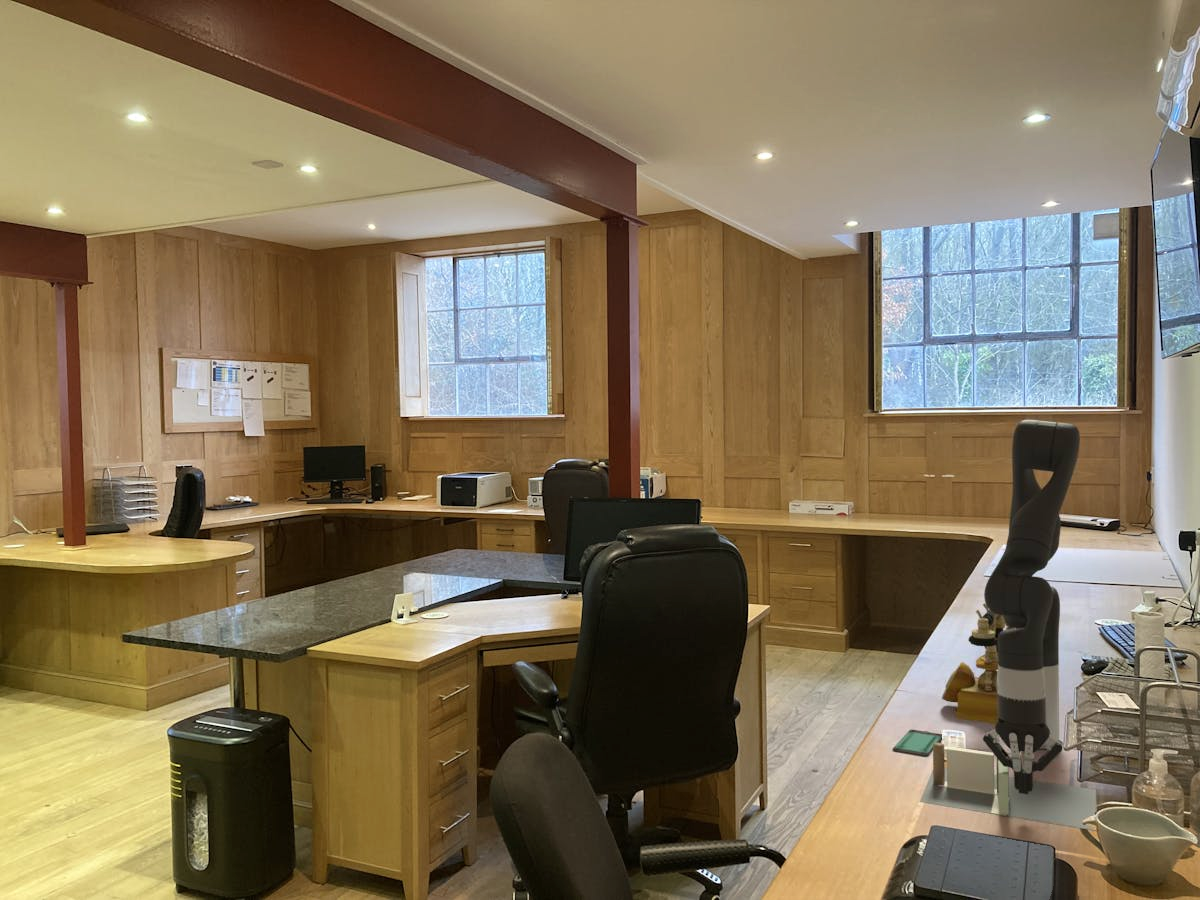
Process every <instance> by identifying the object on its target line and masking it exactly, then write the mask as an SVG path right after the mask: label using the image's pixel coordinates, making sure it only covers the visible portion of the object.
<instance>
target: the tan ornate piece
mask: <svg viewBox="0 0 1200 900" xmlns="http://www.w3.org/2000/svg"><path fill="white" fill-rule="evenodd" d="M982 607H984V609H985V611H986V612H985V613H984V614H983V616H982V614H981V611H980V609H976V611H975V613H976V614H977V615H978V620H977V629H972V630H971V635H970V636H969V637H968V642H969V644H971V645H974V646H977V647H984V649H985V652H984V654H983V655H980V656H979V657H978V658H977V659H976V660H975V663H976V664H975V666H976V669H977V668H978V669H982V670H984V672H983V673H981V674H980V675H979V677H977V676H975V673H974V672H973V670H972V669H971V667H970V666H969V664H966V663H965V662H963V661H961V662H960V663H959V665H958V666H957V668H956V669H955V670H954V671H952V673H951V674H950V676H949V678H948V681H947V683H946V684H945V689H944V692H943V694H942V697H941V700H943V701H946V702H948V703H949V702H950V703H957V710H956V712H955V713H954V719H958V720H959V719H960V720H966V721H973V722H979V723H988V724H994V725H996V723H997V721H998V700H997V688H996V685H997V672H998V635H999V633H1000V632H1001V631H1003V630H1004V629H1005V630H1007V629H1016V628H1012V627H1009V626H1008V625H1007V624H1006V623H1005V621H1004V617H1003V615H998V614H995V613H993V612H991V611H990V610H989V608H988V607H987V605H986V603H985V602H984V603H983V604H982Z"/></svg>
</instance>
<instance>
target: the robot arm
mask: <svg viewBox="0 0 1200 900" xmlns="http://www.w3.org/2000/svg"><path fill="white" fill-rule="evenodd" d="M1080 436H1081V435H1080V430H1079V428H1078V427H1077V426H1076V425H1074V424H1071V423H1067V422H1055V421H1045V420H1040V419H1039V420H1037V419H1024V420H1023V419H1022V420H1021V421H1019V422H1018V423H1017V424H1016V427H1015V429H1014V432H1013V437H1012V447H1011V448H1012V449H1011V453H1012V455H1011V461H1012V462H1011V468H1012V492H1011V493H1012V495H1011V496H1012V497H1011V505H1010V513H1009V525H1008V536H1007V540H1006V545H1005V550H1004V552H1003V554H1002V556H1001V558H1000V559H999V561H998V563H997V565H996V566H995V568H994V569H993V571H992V572H991V574H990V576H989V578H988V580H987V581H986V584H985V588H984V603H986V605H987V607H988V609H989V610H990V611H991V612H993V613H995V614H998V615H1003V617H1004V621H1005V623H1006V624H1007V625H1008V626H1009V627H1012V628H1015V629H1007V630H1006V629H1003V631H1001V632H1000V633H999V635H998V670H997V671H998V672H997V685H996V688H997V700H998V721H997V723H996V724H994V728H993V729H992V730H991V731H985V732H984V734H983V737H982V740H983V742H984V744H985V745H986V746H987V747H988V748H989V750H990V752H991V753H994V757H995V758H996V759H997V758H998V760H999V761H1000V762H1001V763H1002V765H1003V766H1005V767H1009V768H1010V769H1012V770H1013V777H1014V786H1015V788H1016V789H1018V790H1019V793H1022V794H1028V793H1029V791H1032V789H1033V780H1034V772H1043V771H1044V770H1045V769H1046V767H1048V765H1049V764H1050V763H1052V762H1053V760H1055V758H1056V757H1057V756H1058V755H1059V754H1060V753H1062V751H1063V747H1064V742H1063V741H1062V740H1060V671H1059V670H1060V669H1059V668H1060V666H1059V665H1060V663H1059V661H1060V660H1059V655H1060V654H1059V649H1060V648H1059V642H1060V641H1059V638H1060V636H1059V634H1060V615H1061V612H1060V611H1061V603H1060V601H1061V600H1060V599H1061V598H1060V596H1059V592H1058V590H1057V589H1056V588H1055V587H1054V586H1051V585H1050V583H1049V582H1048V580H1046V579H1045V578H1043V577H1040V576H1033V575H1035V574H1036V573H1037V572H1039V571H1042V570H1044V569H1045V568H1046V567H1047V566H1048V564H1049V562H1050V561H1051V559H1053V558H1054V556H1055V554H1056V553H1057V551H1058V549H1059V547H1060V546H1059V545H1060V538H1061V527H1062V519H1061V516H1060V512H1061V510H1062V507H1063V504H1064V502H1065V499H1066V496H1067V494H1068V493H1067V492H1068V490H1069V486H1070V485H1071V481H1072V478H1073V475H1074V471H1075V468H1076V465H1077V461H1078V458H1079V453H1080V452H1079V451H1080V443H1081V437H1080ZM1034 470H1036V471H1042V472H1043V471H1045V472H1051V473H1052V475H1051V477H1050V479H1049V480H1048V482H1047V483H1046V484H1045V485H1044V486H1043V487H1041V486H1040V484H1039V483H1038V481H1037V478H1036V476H1035V472H1034ZM1000 739H1001V740H1002V741H1003V744H1005V746H1006V747H1007V748H1008V749H1010V754H1011V756H1010V754H1009V753H1008V752H1007V751H1006V750H1005V749H1004V747H1003V746H1002V745H1001V744H1000V742H999V741H1000ZM1039 749H1040V750H1041V749H1042V750H1043V749H1044V750H1046V751H1045V752H1044V753H1043V754H1042V755H1041V756H1040V757H1039V758H1038V760H1035V761H1034V757H1035V753H1036V752H1038V751H1039ZM1022 752H1023V753H1024V756H1023V757H1024V758H1023V759H1022ZM1007 753H1008V754H1009V755H1008V754H1007ZM1023 761H1024V765H1023Z"/></svg>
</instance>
